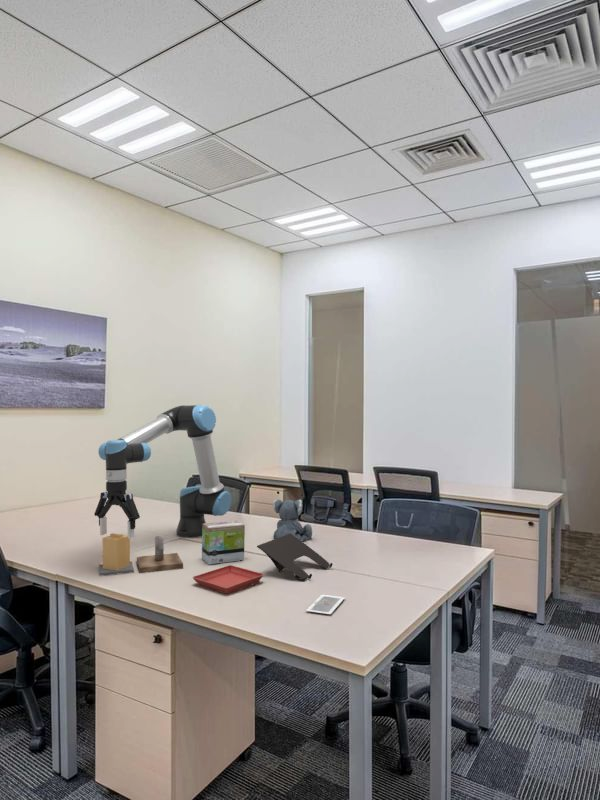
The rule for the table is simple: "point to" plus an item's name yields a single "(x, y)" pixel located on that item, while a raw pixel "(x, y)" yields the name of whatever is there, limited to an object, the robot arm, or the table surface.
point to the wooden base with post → (159, 559)
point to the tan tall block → (116, 552)
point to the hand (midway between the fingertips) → (117, 536)
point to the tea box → (223, 542)
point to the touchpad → (325, 604)
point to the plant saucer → (228, 578)
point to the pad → (107, 571)
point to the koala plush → (290, 520)
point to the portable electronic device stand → (291, 555)
